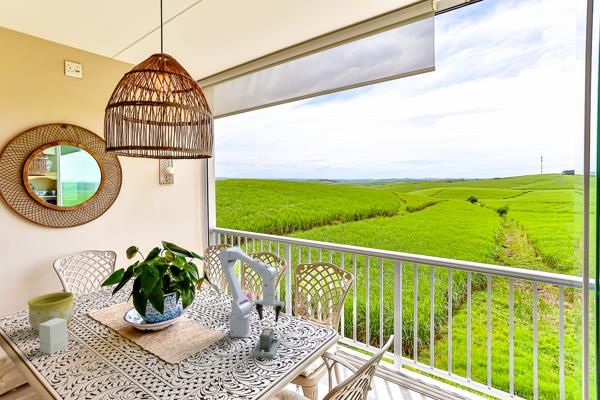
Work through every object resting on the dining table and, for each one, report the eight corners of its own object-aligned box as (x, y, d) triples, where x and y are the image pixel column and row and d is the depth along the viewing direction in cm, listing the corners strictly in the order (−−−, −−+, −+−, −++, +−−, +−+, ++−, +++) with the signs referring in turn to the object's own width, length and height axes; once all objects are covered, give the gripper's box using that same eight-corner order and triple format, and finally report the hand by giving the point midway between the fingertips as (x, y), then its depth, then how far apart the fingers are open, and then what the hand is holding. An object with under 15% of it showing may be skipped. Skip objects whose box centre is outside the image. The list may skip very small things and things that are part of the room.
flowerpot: (28, 341, 138) (27, 307, 137) (29, 328, 152) (28, 297, 151) (75, 330, 150) (75, 298, 149) (73, 318, 163) (72, 289, 163)
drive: (259, 352, 129) (259, 336, 129) (264, 342, 137) (264, 327, 137) (269, 353, 129) (269, 337, 129) (273, 343, 137) (273, 328, 136)
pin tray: (251, 357, 126) (251, 349, 126) (261, 339, 141) (261, 332, 141) (272, 359, 125) (272, 351, 125) (280, 341, 140) (280, 334, 140)
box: (244, 316, 167) (244, 296, 166) (235, 315, 168) (235, 295, 167) (251, 309, 177) (251, 290, 176) (242, 308, 178) (242, 289, 178)
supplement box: (68, 346, 134) (67, 319, 134) (50, 355, 127) (49, 326, 127) (57, 343, 137) (56, 317, 136) (39, 351, 130) (38, 324, 129)
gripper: (251, 294, 136) (251, 322, 136) (282, 296, 133) (281, 325, 134) (256, 289, 143) (256, 316, 143) (285, 291, 140) (285, 319, 141)
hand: (268, 320), depth 139 cm, fingers open, 7 cm apart
